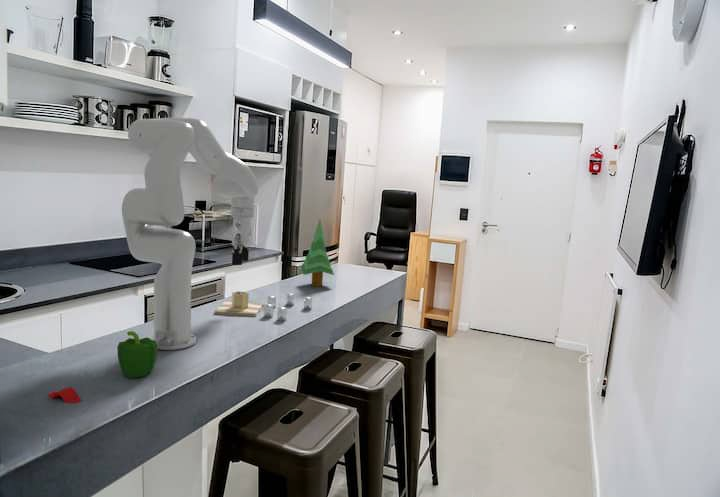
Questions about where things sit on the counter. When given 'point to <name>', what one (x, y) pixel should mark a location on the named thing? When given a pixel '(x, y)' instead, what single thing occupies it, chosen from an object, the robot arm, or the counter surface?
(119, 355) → the bell pepper
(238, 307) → the brass nut
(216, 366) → the counter surface
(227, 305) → the pad
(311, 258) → the decorative tree
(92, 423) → the counter surface
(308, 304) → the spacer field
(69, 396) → the red curved piece
